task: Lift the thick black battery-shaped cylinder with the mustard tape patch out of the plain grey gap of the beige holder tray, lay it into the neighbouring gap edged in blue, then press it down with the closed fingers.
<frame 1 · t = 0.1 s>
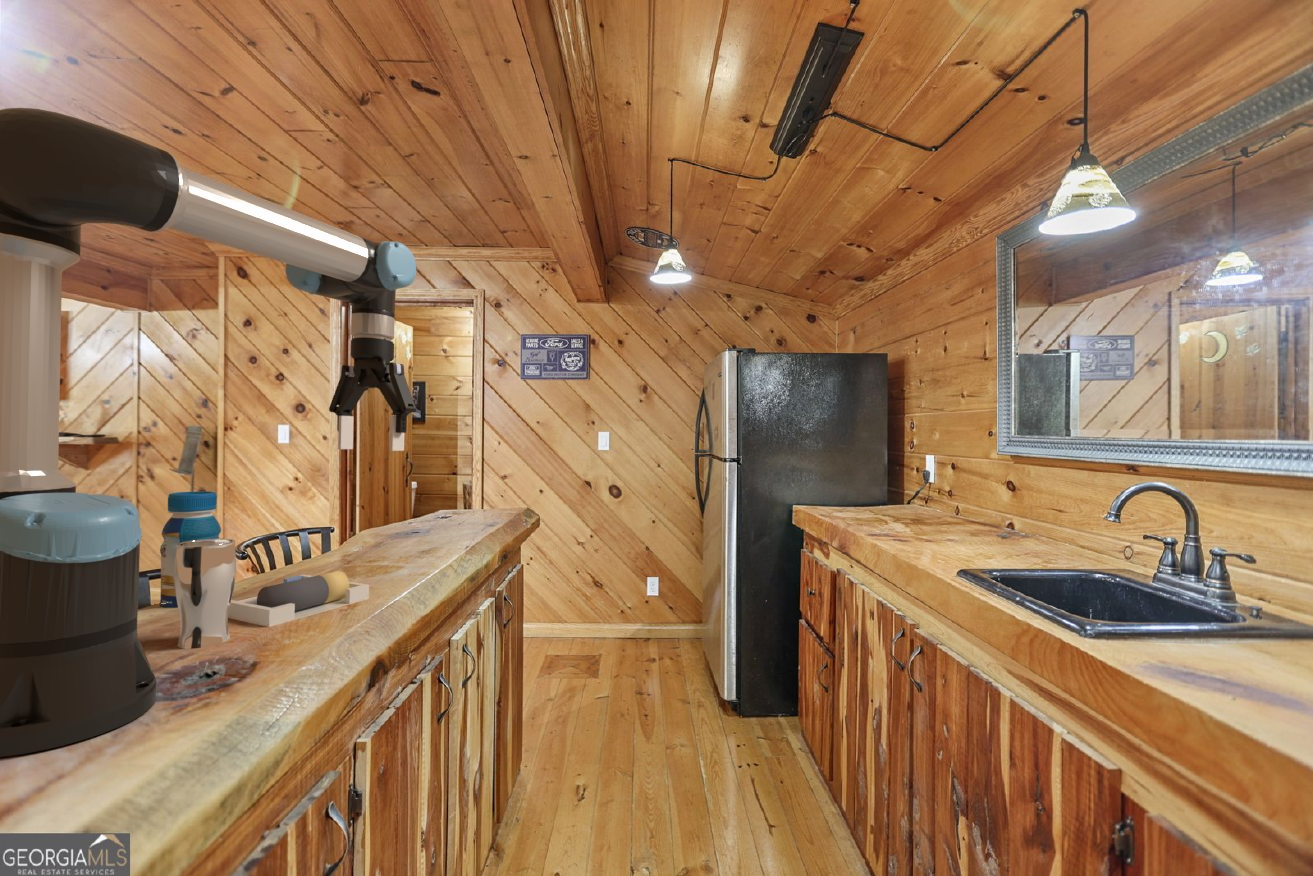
hand: (370, 450, 111), 28 cm above the worktop, tool pointing down, fingers open, 13 cm apart
beverage bottle: (190, 607, 102), on the worktop
beer glass: (204, 649, 82), on the worktop
beige holder tray: (288, 610, 101), on the worktop
battery-shaped cylinder: (305, 607, 99), point 1 cm above the worktop, touching beige holder tray
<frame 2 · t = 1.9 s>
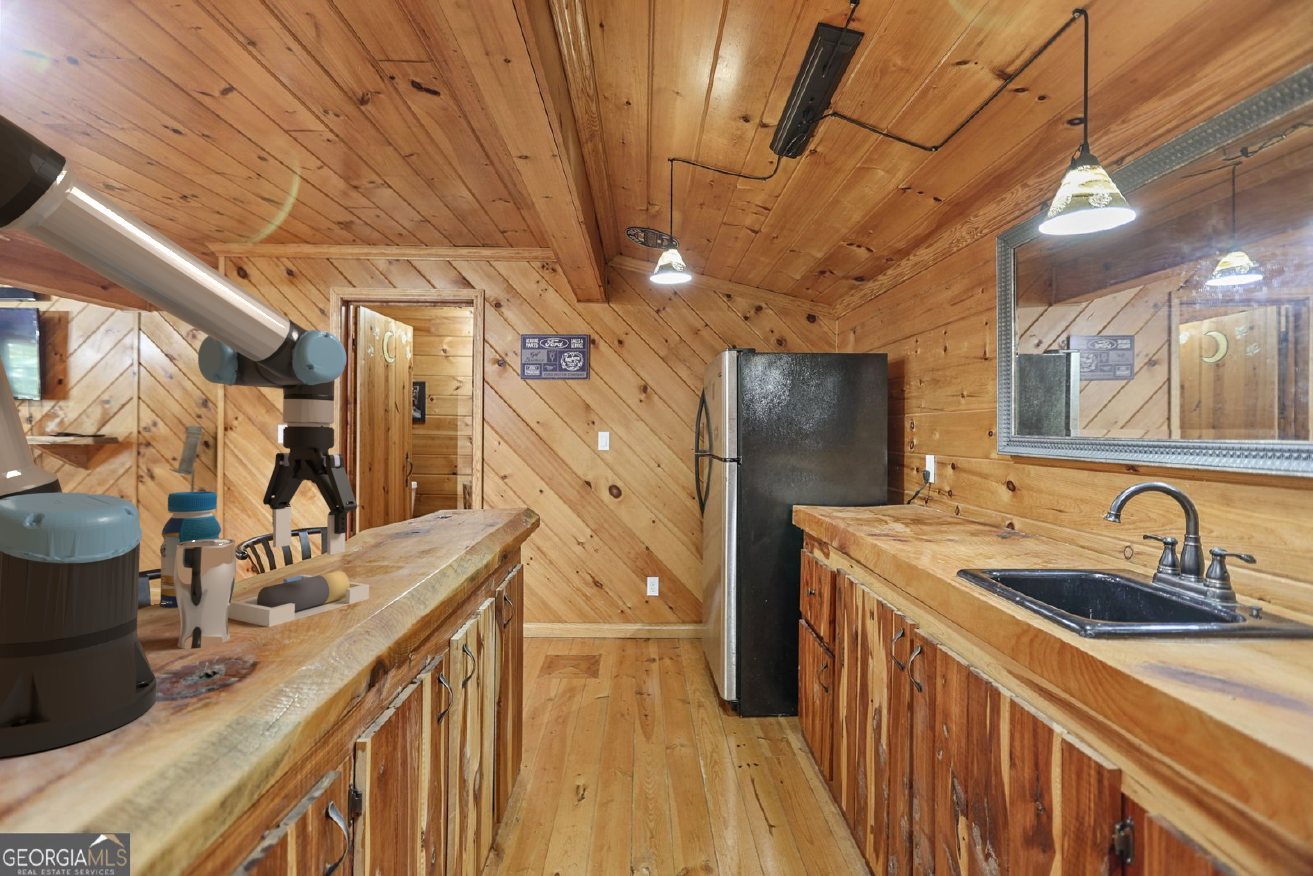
hand: (308, 549, 100), 11 cm above the worktop, tool pointing down, fingers open, 13 cm apart
nothing on the worktop moved.
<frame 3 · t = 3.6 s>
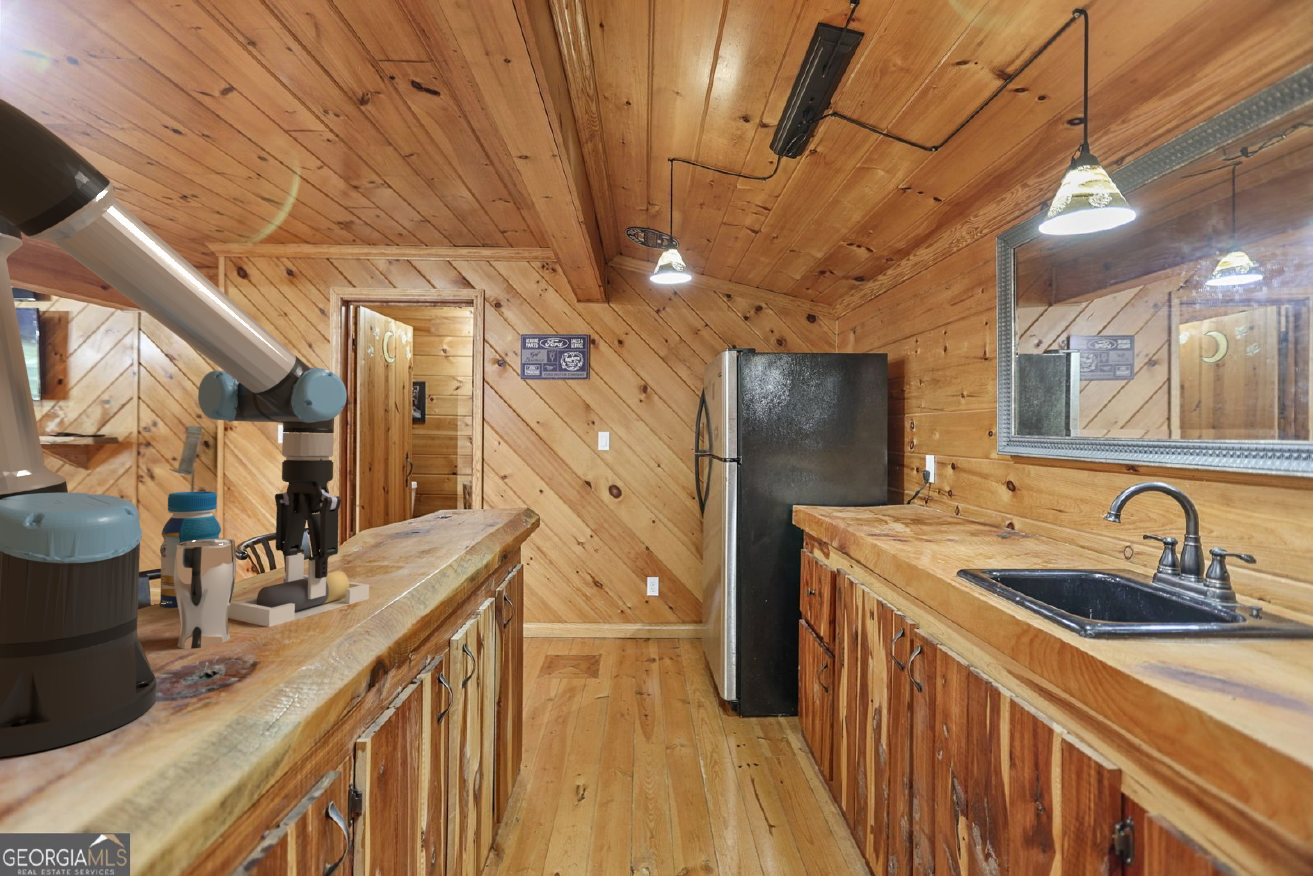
hand: (305, 594, 99), 3 cm above the worktop, tool pointing down, fingers closed on battery-shaped cylinder, 5 cm apart
battery-shaped cylinder: (304, 607, 99), point 1 cm above the worktop, touching beige holder tray, gripper
everything else where it was.
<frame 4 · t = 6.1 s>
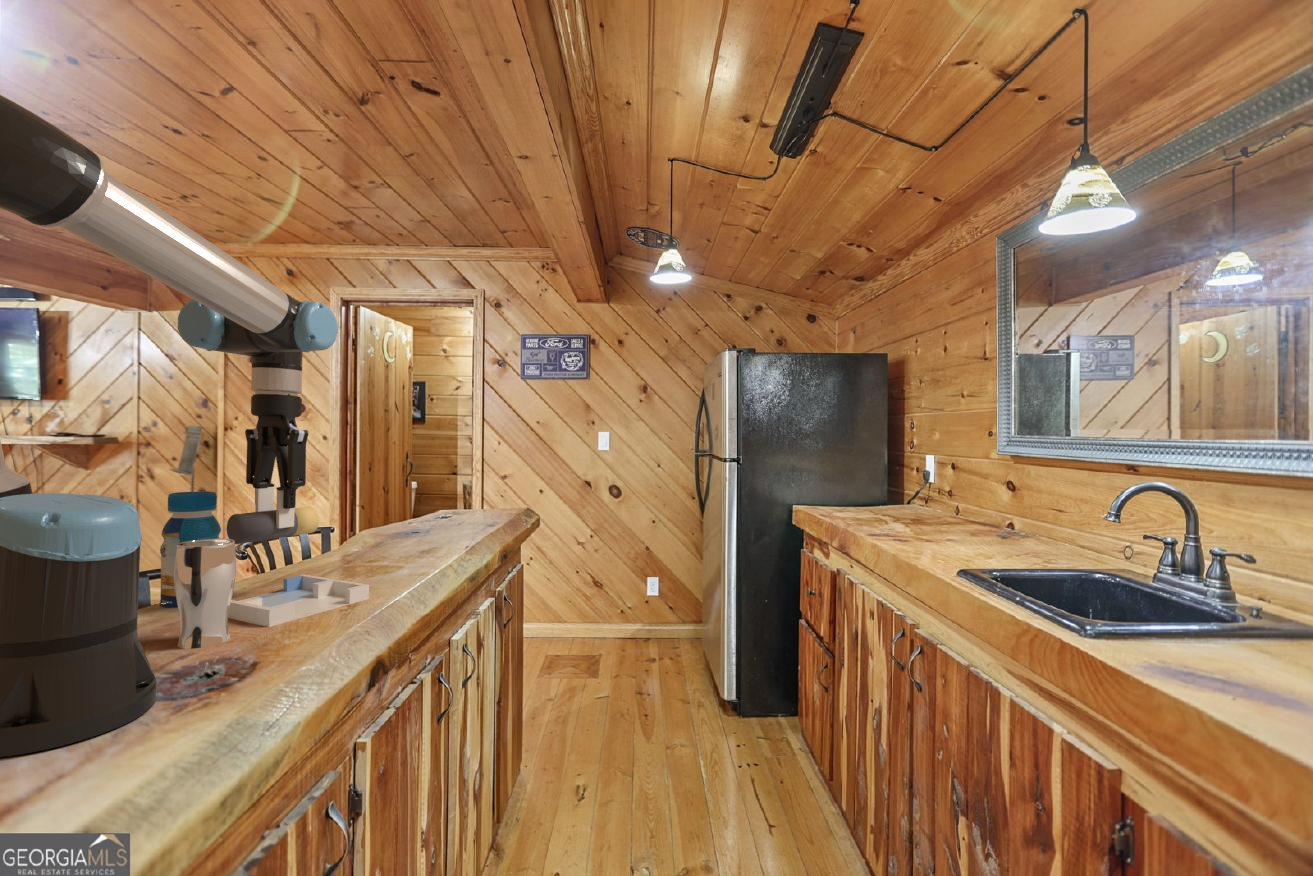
hand: (274, 525, 103), 14 cm above the worktop, tool pointing down, fingers closed on battery-shaped cylinder, 5 cm apart
battery-shaped cylinder: (274, 538, 103), point 12 cm above the worktop, touching gripper
everything else where it was.
when the fingers open (5 cm above the worktop, at t = 8.4 s): battery-shaped cylinder drops 1 cm, resting on beige holder tray.
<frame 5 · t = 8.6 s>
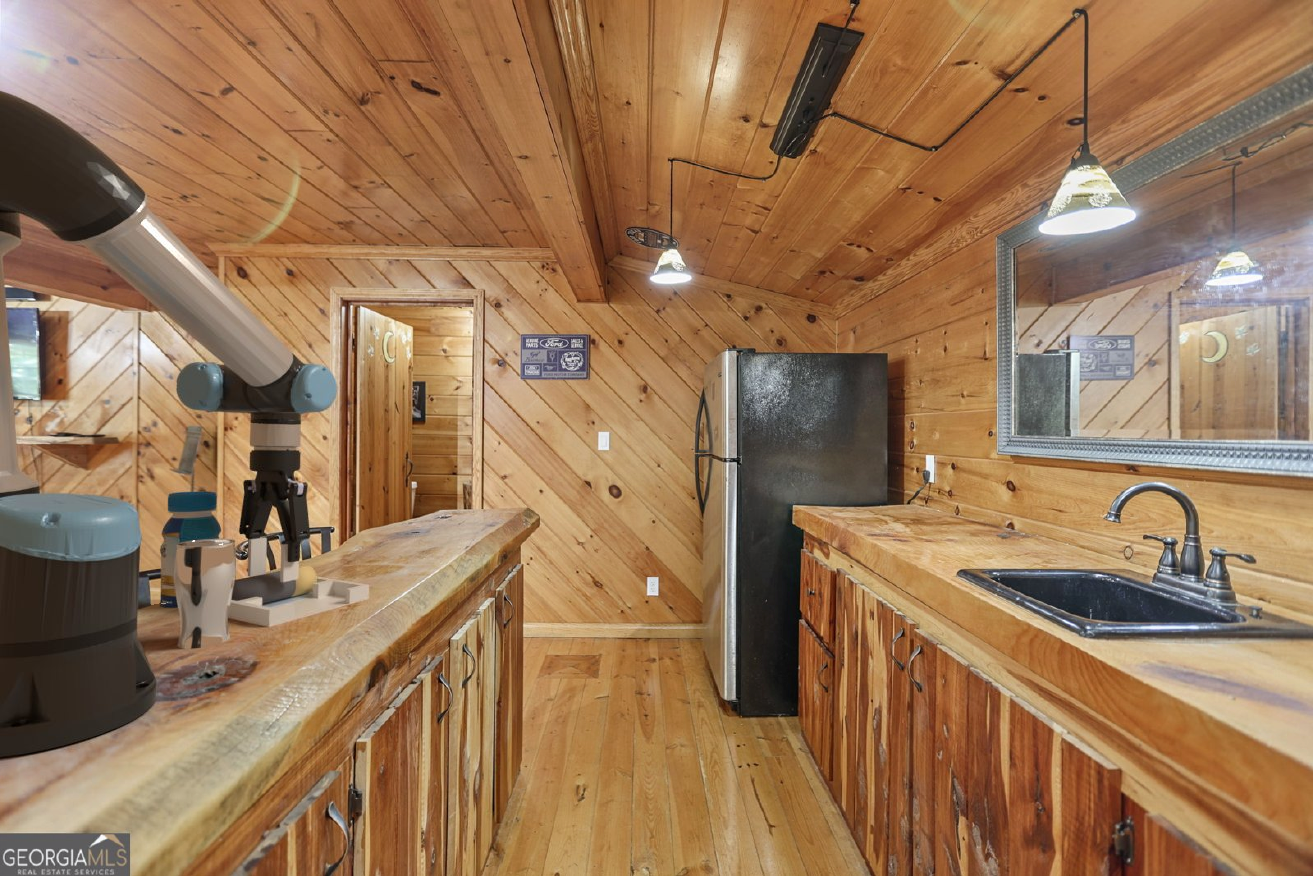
hand: (272, 577, 103), 5 cm above the worktop, tool pointing down, fingers open, 8 cm apart
battery-shaped cylinder: (272, 601, 102), point 1 cm above the worktop, touching beige holder tray
everything else where it was.
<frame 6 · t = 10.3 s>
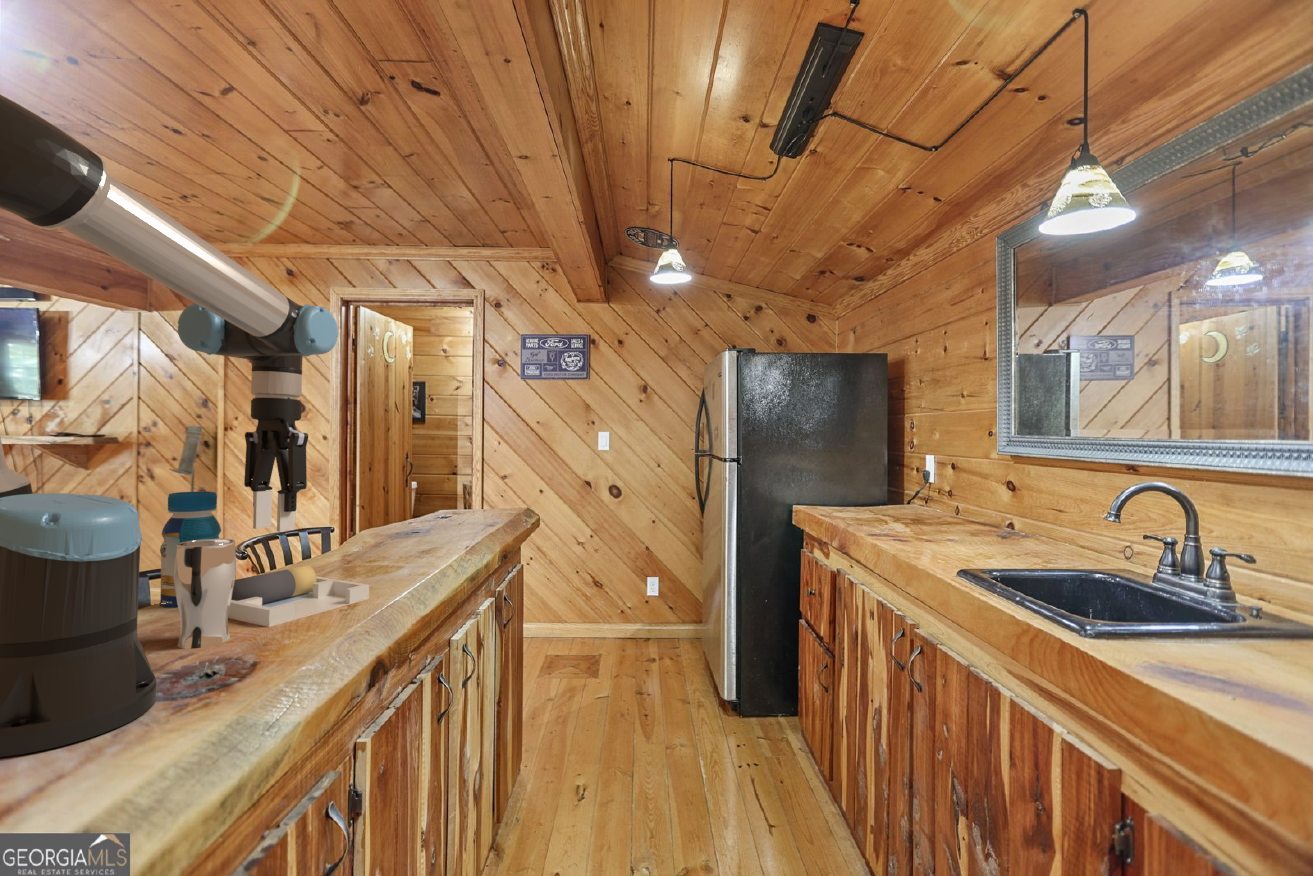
hand: (274, 528, 103), 14 cm above the worktop, tool pointing down, fingers open, 6 cm apart
nothing on the worktop moved.
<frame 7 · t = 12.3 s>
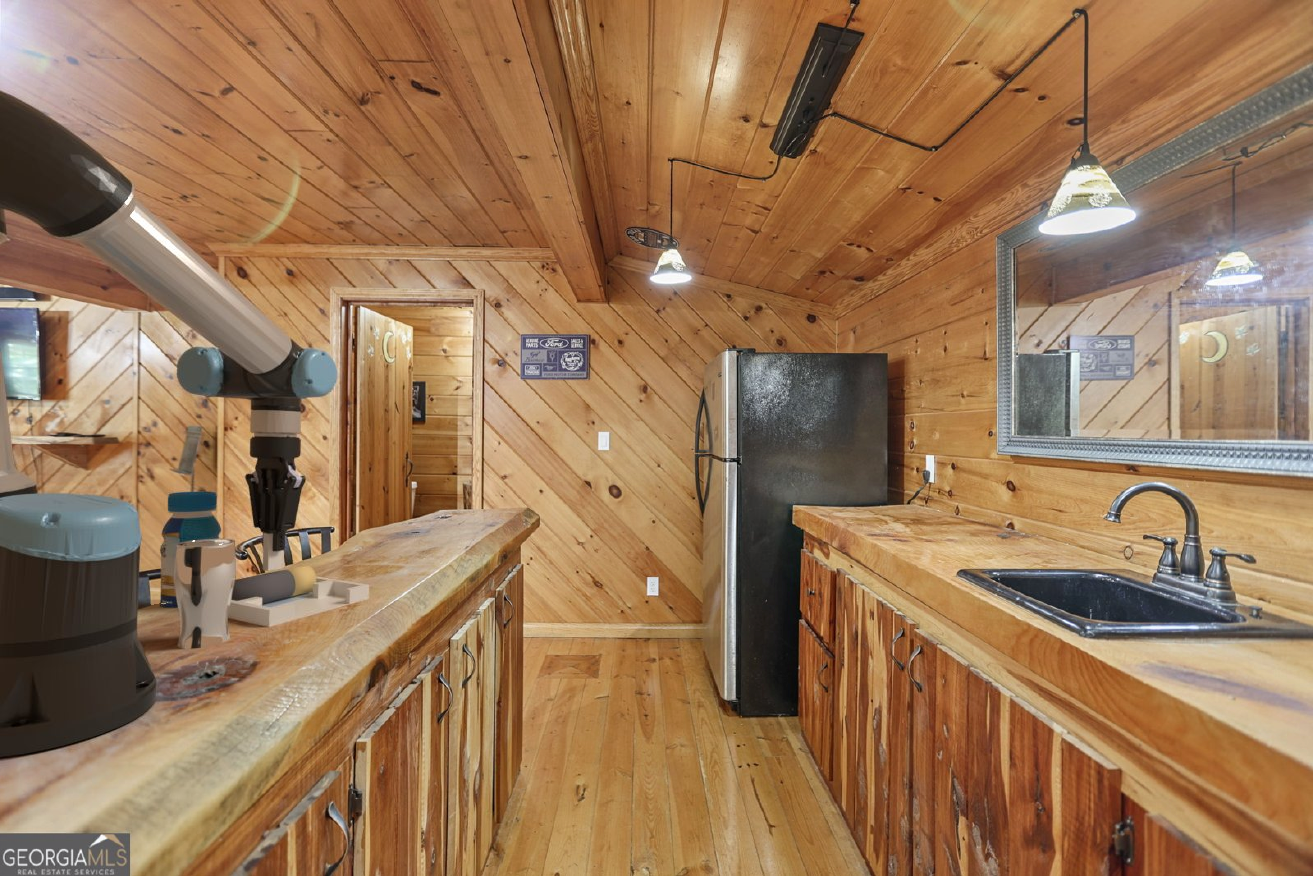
hand: (273, 569, 103), 7 cm above the worktop, tool pointing down, fingers closed
nothing on the worktop moved.
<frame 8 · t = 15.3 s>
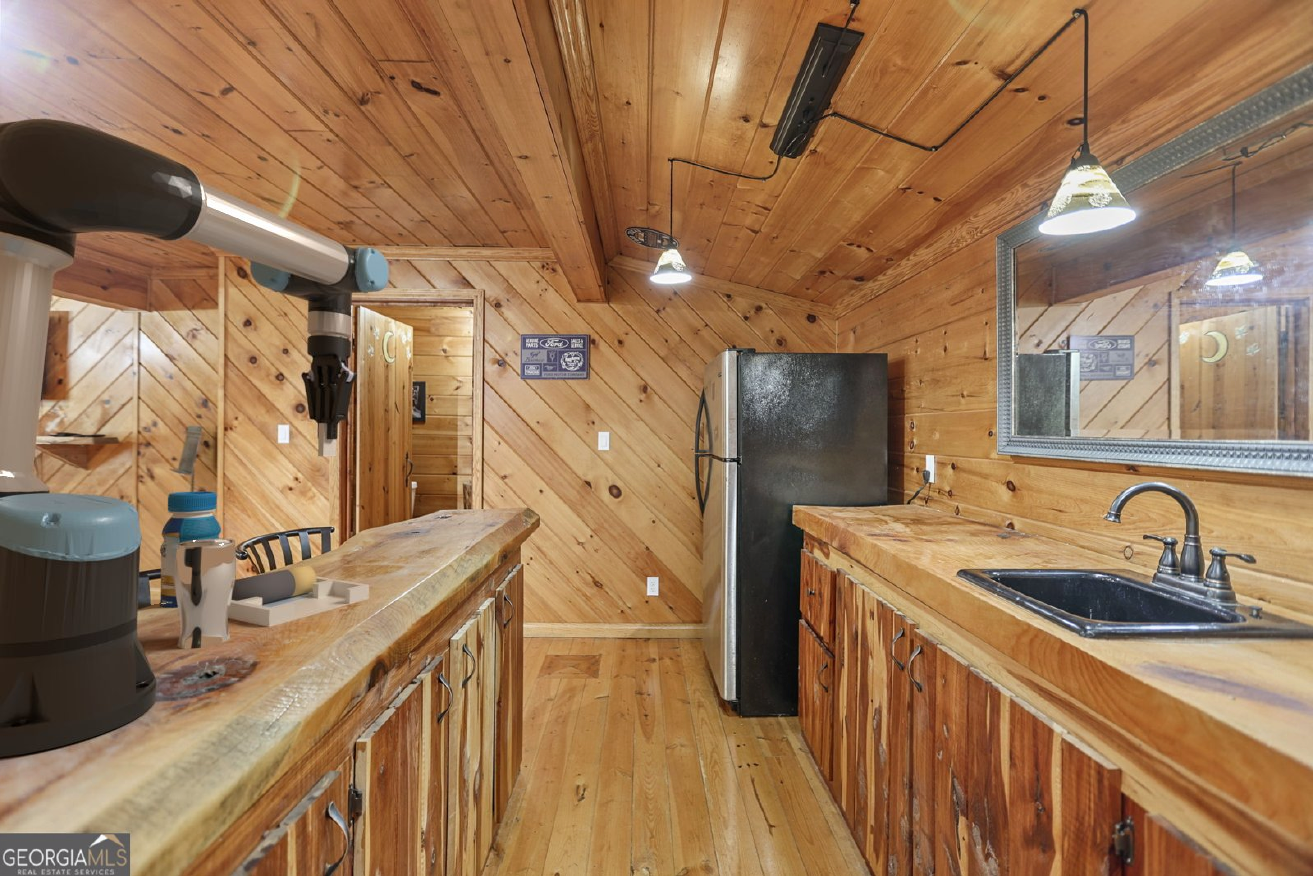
hand: (327, 456, 115), 26 cm above the worktop, tool pointing down, fingers closed
nothing on the worktop moved.
at the end: battery-shaped cylinder inside the target area on the beige holder tray (0.0 cm from its centre), point 1.1 cm above the beige holder tray's base; the gripper is holding nothing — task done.
